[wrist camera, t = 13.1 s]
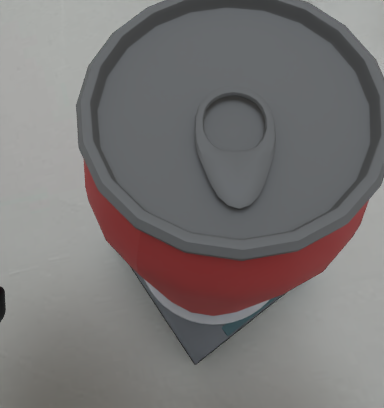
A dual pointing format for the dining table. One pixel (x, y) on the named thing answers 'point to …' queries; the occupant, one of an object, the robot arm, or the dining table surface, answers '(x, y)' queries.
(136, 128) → the beer can
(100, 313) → the dining table surface
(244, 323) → the scale
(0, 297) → the robot arm
